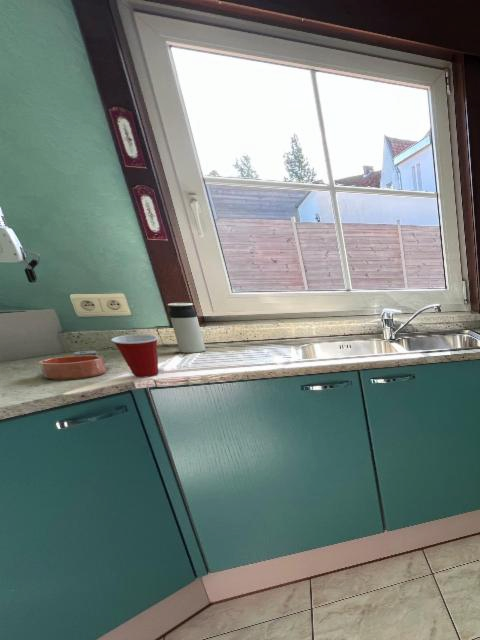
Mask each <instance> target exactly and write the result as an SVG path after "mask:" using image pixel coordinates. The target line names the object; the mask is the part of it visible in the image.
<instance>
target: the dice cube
mask: <svg viewBox="0 0 480 640" xmlns="http://www.w3.org/2000/svg"><path fill="white" fill-rule="evenodd" d="M82 355H94V356H99V355H98V352H97V350H85V351H83V350H81V351H74V353H73V356H82Z"/></svg>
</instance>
